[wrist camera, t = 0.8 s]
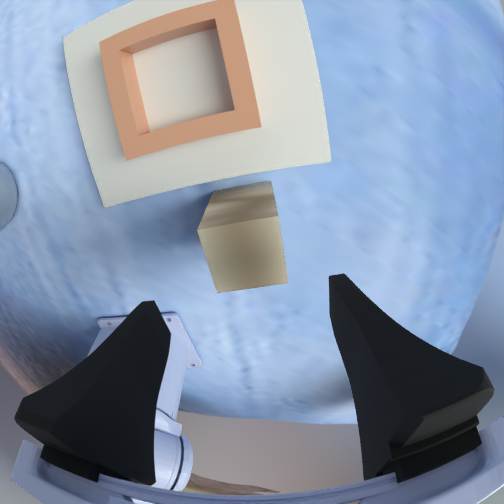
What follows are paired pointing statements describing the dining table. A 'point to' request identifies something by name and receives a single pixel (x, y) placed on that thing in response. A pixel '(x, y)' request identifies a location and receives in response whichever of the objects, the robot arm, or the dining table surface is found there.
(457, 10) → the dining table surface
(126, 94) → the terracotta holder
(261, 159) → the cream flat mat
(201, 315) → the dining table surface
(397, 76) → the dining table surface
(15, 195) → the plastic bottle
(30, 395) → the robot arm
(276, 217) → the birch peg
